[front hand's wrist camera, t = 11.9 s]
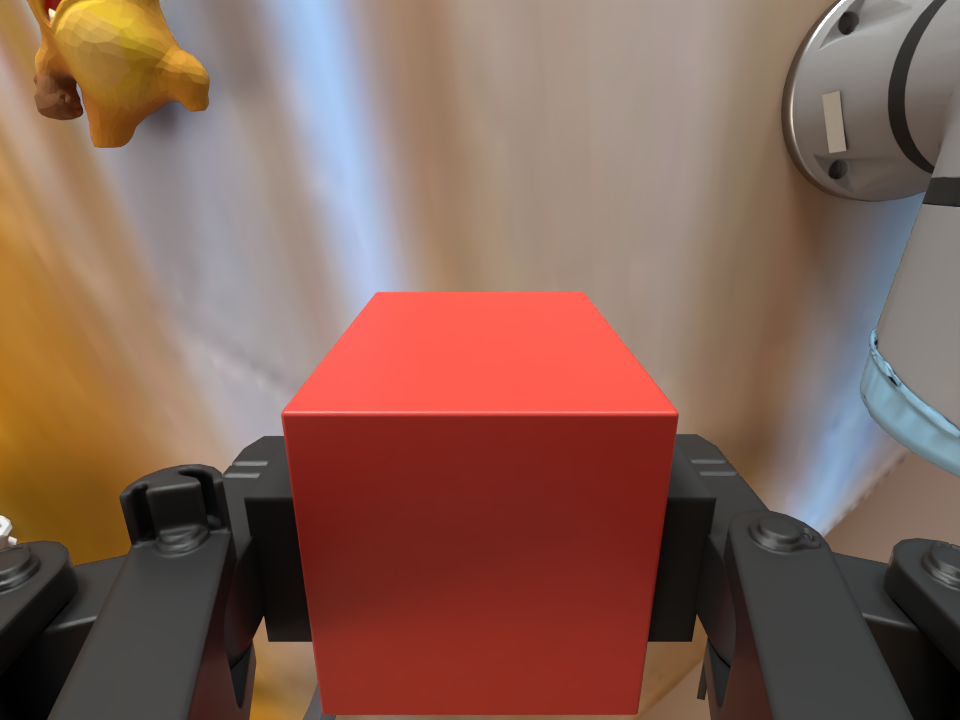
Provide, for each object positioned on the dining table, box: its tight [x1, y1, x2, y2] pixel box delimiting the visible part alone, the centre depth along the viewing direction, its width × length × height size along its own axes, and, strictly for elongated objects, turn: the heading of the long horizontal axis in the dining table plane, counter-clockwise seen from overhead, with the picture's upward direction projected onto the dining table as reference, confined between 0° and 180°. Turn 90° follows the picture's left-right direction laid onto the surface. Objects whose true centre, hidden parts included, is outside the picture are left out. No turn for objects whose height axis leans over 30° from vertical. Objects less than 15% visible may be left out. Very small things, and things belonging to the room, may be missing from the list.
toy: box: [27, 0, 209, 148], centre depth 36 cm, size 11×6×15 cm
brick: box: [281, 292, 679, 715], centre depth 11 cm, size 6×5×7 cm
